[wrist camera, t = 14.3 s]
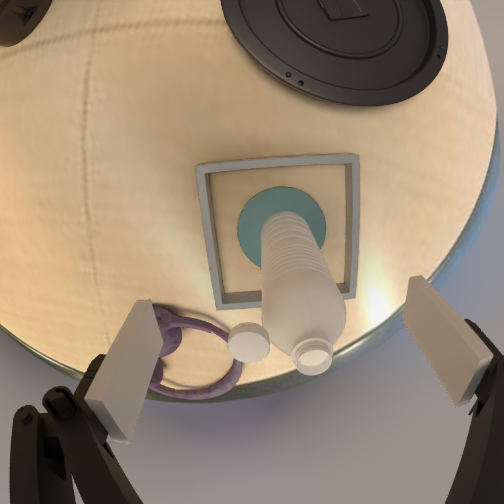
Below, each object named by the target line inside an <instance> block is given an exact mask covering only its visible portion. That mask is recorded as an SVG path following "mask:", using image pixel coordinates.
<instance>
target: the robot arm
mask: <svg viewBox="0 0 504 504" xmlns="http://www.w3.org/2000/svg"><path fill="white" fill-rule="evenodd" d="M51 1H52V0H0V46H4V47H9V46H12V45H15V44H17V43H18V42H20V41H21V40H23V39H24V38H25V37H26V36H27V35H29V34H30V33H31V32H32V30H33V29H34V28H35V27H36V26H37V25H38V23H39V22H40V21H41V19H42V18H43V16H44V15H45V13H46V11H47V9H48V8H49V6H50V3H51ZM402 322H403V323H404V325H405V326H406V328H407V329H408V331H409V332H410V334H411V335H412V337H413V338H414V340H415V341H416V343H417V344H418V346H419V348H420V349H421V351H422V352H423V354H424V355H425V357H426V358H427V360H428V362H429V363H430V365H431V366H432V368H433V370H434V371H435V373H436V375H437V376H438V378H439V380H440V381H441V383H442V385H443V386H444V388H445V390H446V391H447V393H448V395H449V396H450V398H451V400H452V402H453V403H454V405H455V407H459V406H462V405H464V404H466V403H469V401H470V400H471V398H472V397H473V395H474V393H475V394H476V396H477V397H478V399H477V400H476V402H475V404H474V405H473V407H472V409H471V411H470V412H469V415H471V413H472V412H473V416H472V421H471V425H470V429H469V433H468V437H467V440H466V444H465V448H464V451H463V455H462V458H461V461H460V464H459V467H458V470H457V473H456V476H455V479H454V482H453V484H452V487H451V489H450V492H449V495H448V497H447V500H446V502H445V504H504V355H502V354H501V353H500V352H499V350H498V349H497V348H496V347H495V345H494V344H493V343H492V342H491V341H490V340H489V338H487V337H486V335H485V334H484V333H483V332H481V329H480V328H479V327H478V326H477V325H476V324H475V323H473V322H472V321H470V320H468V319H463V318H462V317H461V316H460V315H459V314H458V313H457V312H456V311H455V310H454V309H453V307H452V306H451V305H450V304H449V303H448V302H447V301H446V300H445V299H444V298H443V297H442V296H441V295H440V294H439V293H438V291H437V290H436V289H435V288H434V287H433V286H432V285H431V284H430V283H429V282H428V281H427V280H426V279H425V278H424V277H423V276H422V275H421V276H413V277H410V278H409V285H408V290H407V296H406V301H405V306H404V311H403V316H402ZM163 343H164V342H163V339H162V336H161V333H160V330H159V326H158V323H157V320H156V316H155V313H154V310H153V306H152V302H151V300H137V301H136V303H135V304H134V306H133V308H132V310H131V311H130V313H129V315H128V317H127V318H126V320H125V322H124V324H123V325H122V327H121V329H120V331H119V333H118V334H117V336H116V338H115V340H114V342H113V343H112V345H111V347H110V349H109V351H108V353H107V355H104V354H99V355H98V356H97V357H96V358H95V359H94V360H92V361H91V363H90V365H89V367H88V369H87V371H86V372H85V374H84V376H83V378H82V380H81V381H80V384H79V385H78V387H77V389H76V391H75V393H74V395H73V394H72V393H71V391H70V390H69V388H67V387H65V386H57V387H54V388H52V389H50V390H49V391H48V392H47V393H46V394H45V395H44V397H43V399H42V405H43V406H44V407H45V409H46V410H47V411H48V413H39V412H38V411H37V409H36V408H35V407H34V406H32V405H26V406H23V407H21V408H20V409H18V410H17V412H16V413H15V415H14V419H13V427H12V437H11V451H10V504H76V501H75V495H74V489H73V482H72V477H73V479H74V481H75V484H76V486H77V489H78V491H79V493H80V495H81V498H82V500H83V502H84V504H143V502H142V501H141V499H140V498H139V496H138V495H137V493H136V492H135V490H134V488H133V487H132V485H131V484H130V482H129V480H128V479H127V477H126V475H125V473H124V472H123V470H122V468H121V467H120V465H119V463H118V461H117V459H116V458H115V456H114V454H113V452H112V450H111V448H110V446H109V444H108V443H107V442H106V439H107V436H108V434H109V435H110V436H111V438H112V439H113V440H114V441H116V442H122V443H128V444H131V441H132V438H133V434H134V431H135V427H136V424H137V421H138V418H139V415H140V412H141V408H142V405H143V402H144V399H145V396H146V393H147V390H148V387H149V384H150V381H151V378H152V375H153V372H154V369H155V366H156V363H157V360H158V357H159V354H160V351H161V348H162V346H163ZM71 474H72V475H71Z"/></svg>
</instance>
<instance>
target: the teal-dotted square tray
mask: <svg viewBox="0 0 504 504" xmlns="http://www.w3.org/2000/svg"><path fill="white" fill-rule="evenodd" d="M342 163H345V177H346V246H345V273H344V283H340V284H336V285H337V287H338V289H339V291H340V293H341V295H342V297H343V299H352V298H356V286H357V272H358V254H359V229H360V163H359V155H356V154H313V155H292V156H276V157H262V158H250V159H239V160H229V161H220V162H211V163H203V164H198V165H196V166H195V169H196V178H197V185H198V193H199V201H200V208H201V215H202V223H203V229H204V236H205V243H206V250H207V256H208V263H209V269H210V275H211V281H212V287H213V293H214V299H215V305H216V310H231V309H246V308H260V307H262V291H251V292H237V293H224V289H223V282H222V275H221V268H220V261H219V254H218V247H217V239H216V232H215V225H214V217H213V209H212V201H211V193H210V185H209V176H208V173H212V172H221V171H230V170H241V169H252V168H264V167H278V166H293V165H313V164H342Z"/></svg>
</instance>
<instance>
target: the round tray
mask: <svg viewBox="0 0 504 504" xmlns="http://www.w3.org/2000/svg"><path fill="white" fill-rule="evenodd" d="M221 6H222V10H223V14H224V17H225V19H226V22H227V24H228V26H229V28H230V30H231V32H232V34H233V36H234V37H235V39H236V40H237V42H238V43H239V44H240V46H241V47H242V48H243V49H244V51H245V52H246V53H247V54H248V55H249V56H250V57H251V58H252V59H253V60H254V61H255V62H256V63H257V64H258V65H259V66H260V67H261V68H262V69H264V70H265V71H266V72H267V73H269V74H270V75H271V76H273V77H274V78H276V79H277V80H279V81H280V82H282V83H284V84H285V85H287V86H289V87H291V88H293V89H295V90H297V91H299V92H301V93H303V94H306V95H308V96H311V97H314V98H317V99H320V100H323V101H327V102H331V103H336V104H341V105H348V106H358V107H375V106H384V105H390V104H394V103H398V102H401V101H404V100H407V99H409V98H411V97H413V96H415V95H417V94H418V93H420V92H421V91H423V90H424V89H425V88H426V87H427V86H429V85H430V84H431V82H432V81H433V80H434V79H435V78H436V76H437V75H438V73H439V72H440V70H441V68H442V66H443V63H444V61H445V58H446V54H447V49H448V26H447V21H446V16H445V13H444V10H443V7H442V4H441V2H440V0H221Z"/></svg>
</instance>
